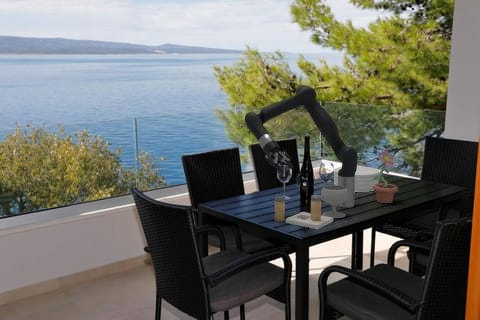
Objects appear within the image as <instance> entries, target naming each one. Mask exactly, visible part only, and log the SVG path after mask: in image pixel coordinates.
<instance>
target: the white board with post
mask: <svg viewBox="0 0 480 320" xmlns="http://www.w3.org/2000/svg"><path fill="white" fill-rule="evenodd" d="M333 222H334V218H332V217H327V216H323V215H322V198H321V194H311V196H310V212H306V211H302V212H299V213H297V214H294V215H292V216H289V217H287V218H285V223H286V224H290V225H294V226H300V227H304V228H308V227H309V229H314V230H319V229H322V228H323V227H325V226H327V225H329V224H331V223H333Z"/></svg>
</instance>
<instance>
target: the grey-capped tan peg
mask: <svg viewBox="0 0 480 320" xmlns="http://www.w3.org/2000/svg"><path fill="white" fill-rule="evenodd" d="M285 199H286V197H285V196H283V195H275V196H274V221H275V222H284V221H286V218H285V215H286V214H285V213H286V212H285V211H286V210H285V209H286V208H285V207H286V206H285V204H286V203H285V202H286V200H285Z"/></svg>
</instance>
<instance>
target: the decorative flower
mask: <svg viewBox="0 0 480 320" xmlns="http://www.w3.org/2000/svg"><path fill="white" fill-rule="evenodd" d="M378 160H379V161H380V163H381V165H382V166H381V169H380V170H379V176H376V177H374V179H373V180H376V179H377V178H378V180H379V182H380V183H378V184H375V185H374V186H373V189H374V190H376V191H375V192H376V201H377V203H379V204H383V203H386V205H388V204H387V203H389V204H392V203H393V200H394V195H395V194H394V193H396V192H398V191H399V187H398V186H397V185H396V184H392V183H388V181H387V180H386V179H385V177H383V173H384V172H385V173H386V174H390V172H389V170H388V169H393V168H395V165H396V164H397V160H396V159H395V158H394V155H393V153H391V152H389V151H388V150H386V149H384V150H381V151H380V155H379V156H378ZM387 168H388V169H387Z"/></svg>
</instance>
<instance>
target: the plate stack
mask: <svg viewBox="0 0 480 320" xmlns="http://www.w3.org/2000/svg"><path fill="white" fill-rule="evenodd" d="M341 168H342V166H339V167H336V168H334V169H333V172H334V173H333V180H334V181H333V185H338V171H339V170H340V169H341ZM379 172H380V170H379V169H377V168H375V167H368V166H360V165H359V166H358V165H357V170H356V172H355V192H369V191H374V189H373V186H374V185H375V184H378V183H379V182H380V181H379V180H378V178H377V179H376V180H373V179H374V177H376V176H379ZM369 193H370V192H369Z"/></svg>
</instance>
